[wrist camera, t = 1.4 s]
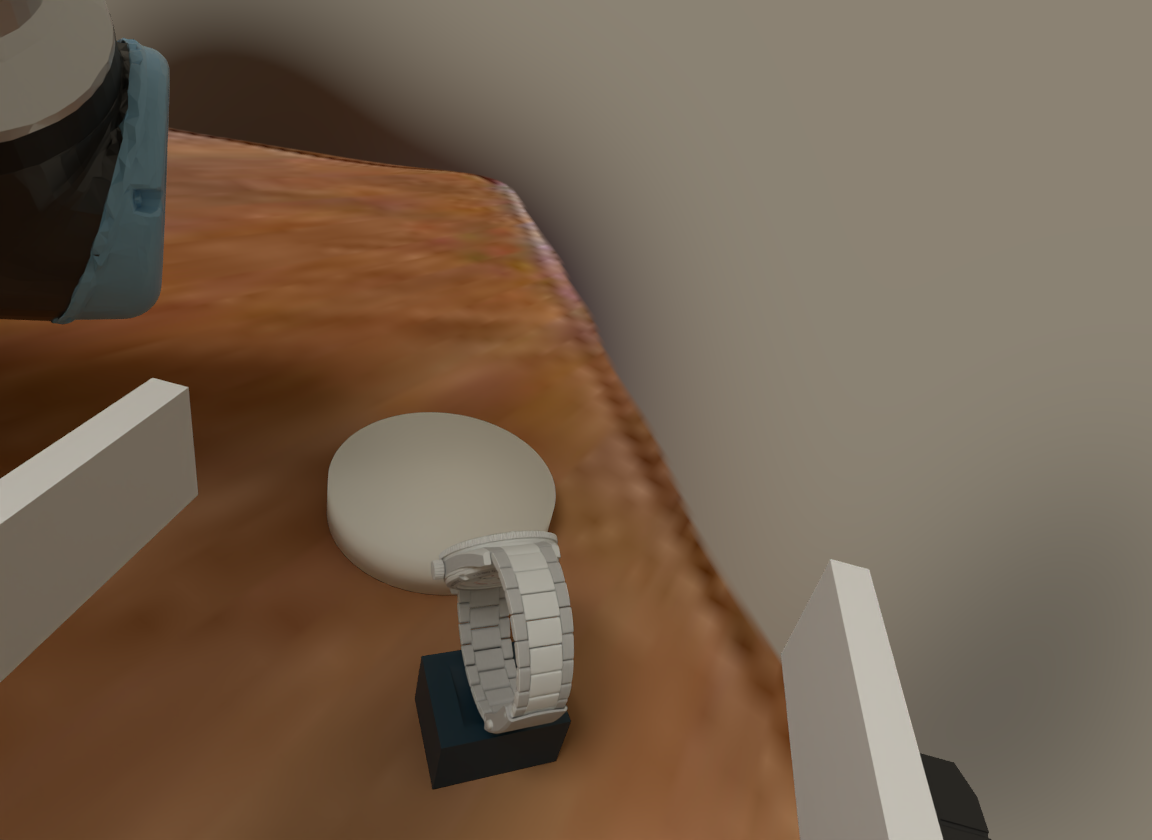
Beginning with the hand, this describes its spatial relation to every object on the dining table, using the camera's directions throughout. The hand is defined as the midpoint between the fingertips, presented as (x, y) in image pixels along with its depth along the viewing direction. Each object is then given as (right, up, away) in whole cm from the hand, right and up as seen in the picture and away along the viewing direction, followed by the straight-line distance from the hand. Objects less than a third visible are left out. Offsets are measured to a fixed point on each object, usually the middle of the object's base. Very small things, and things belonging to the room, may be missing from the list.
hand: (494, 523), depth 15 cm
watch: (-3, -12, +18) cm, 22 cm away
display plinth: (-6, -3, +29) cm, 30 cm away
